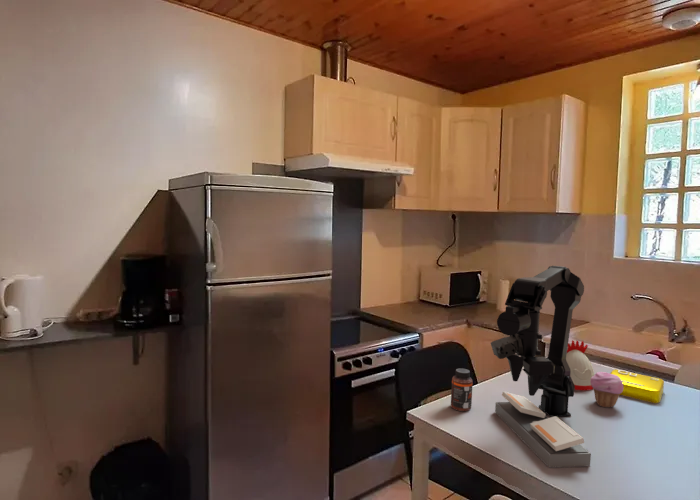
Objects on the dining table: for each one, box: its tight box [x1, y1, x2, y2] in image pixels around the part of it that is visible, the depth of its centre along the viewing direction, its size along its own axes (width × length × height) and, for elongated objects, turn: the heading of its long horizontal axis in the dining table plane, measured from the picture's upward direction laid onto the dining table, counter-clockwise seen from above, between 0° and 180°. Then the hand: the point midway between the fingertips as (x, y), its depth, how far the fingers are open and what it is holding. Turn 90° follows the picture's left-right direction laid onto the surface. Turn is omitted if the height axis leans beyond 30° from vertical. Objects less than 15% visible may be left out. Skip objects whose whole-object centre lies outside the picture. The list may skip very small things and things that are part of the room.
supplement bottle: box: [450, 368, 474, 412], centre depth 129 cm, size 6×6×11 cm
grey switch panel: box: [494, 401, 592, 469], centre depth 114 cm, size 10×28×3 cm, turn 6°
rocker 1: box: [501, 390, 547, 418], centre depth 121 cm, size 7×11×1 cm, turn 7°
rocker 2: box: [530, 416, 585, 451], centre depth 105 cm, size 7×11×1 cm, turn 6°
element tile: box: [610, 368, 665, 404], centre depth 147 cm, size 15×15×5 cm
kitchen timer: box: [566, 340, 596, 391], centre depth 152 cm, size 14×14×15 cm
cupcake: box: [590, 371, 623, 408], centre depth 134 cm, size 9×9×10 cm
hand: (523, 388), depth 113 cm, fingers open, 9 cm apart
